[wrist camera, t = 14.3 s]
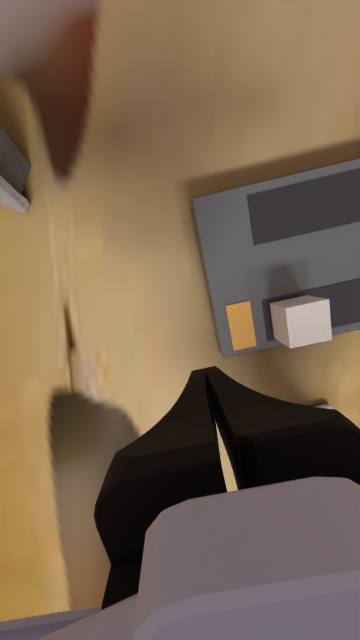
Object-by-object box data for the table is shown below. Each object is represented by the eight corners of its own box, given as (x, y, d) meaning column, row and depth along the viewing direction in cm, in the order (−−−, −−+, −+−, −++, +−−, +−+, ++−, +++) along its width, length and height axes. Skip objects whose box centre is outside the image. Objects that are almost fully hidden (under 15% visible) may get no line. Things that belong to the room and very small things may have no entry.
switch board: (475, 296, 20) (510, 298, 17) (218, 349, 21) (223, 358, 18) (487, 136, 17) (530, 116, 15) (191, 206, 18) (192, 198, 16)
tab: (310, 330, 18) (332, 339, 15) (274, 338, 18) (290, 348, 15) (306, 295, 17) (329, 298, 15) (269, 303, 17) (285, 308, 15)
